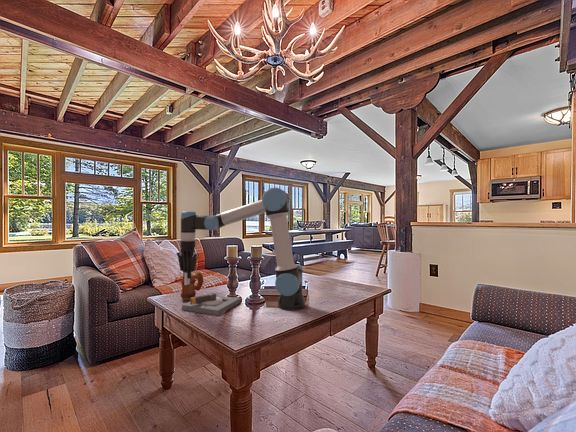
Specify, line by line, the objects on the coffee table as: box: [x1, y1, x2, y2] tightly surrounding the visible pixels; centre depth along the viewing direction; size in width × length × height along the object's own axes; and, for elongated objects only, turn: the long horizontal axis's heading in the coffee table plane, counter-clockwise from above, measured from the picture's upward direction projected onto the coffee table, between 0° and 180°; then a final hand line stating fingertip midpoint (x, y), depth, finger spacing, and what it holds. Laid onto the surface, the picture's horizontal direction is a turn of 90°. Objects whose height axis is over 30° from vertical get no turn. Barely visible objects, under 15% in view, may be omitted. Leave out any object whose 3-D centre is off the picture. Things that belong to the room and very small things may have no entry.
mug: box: [180, 271, 204, 302], centre depth 172 cm, size 15×8×15 cm, turn 143°
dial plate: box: [181, 293, 241, 316], centre depth 159 cm, size 22×22×3 cm
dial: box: [189, 292, 223, 307], centre depth 156 cm, size 18×11×5 cm, turn 132°
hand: (187, 284), depth 155 cm, fingers closed
